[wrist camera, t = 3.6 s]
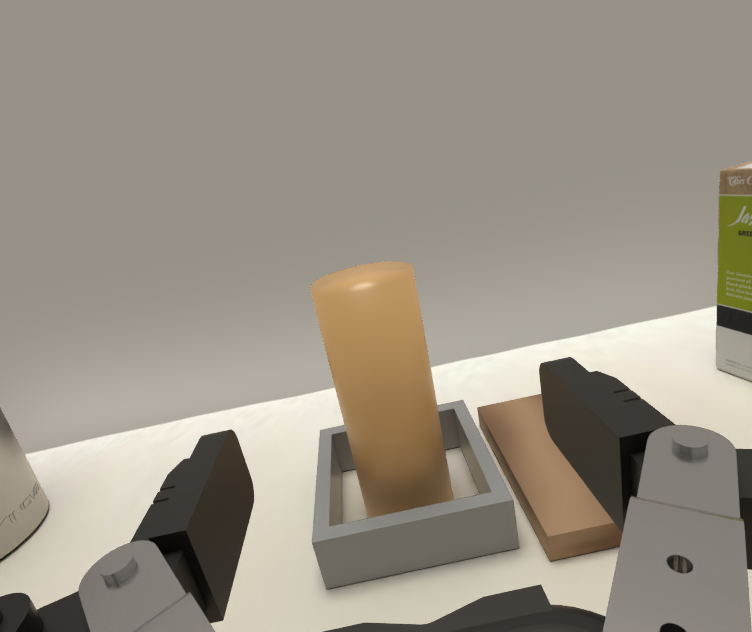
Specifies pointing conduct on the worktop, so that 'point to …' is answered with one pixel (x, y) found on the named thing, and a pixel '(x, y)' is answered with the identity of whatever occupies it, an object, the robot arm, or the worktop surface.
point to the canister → (384, 384)
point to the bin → (411, 514)
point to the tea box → (735, 272)
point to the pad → (546, 481)
